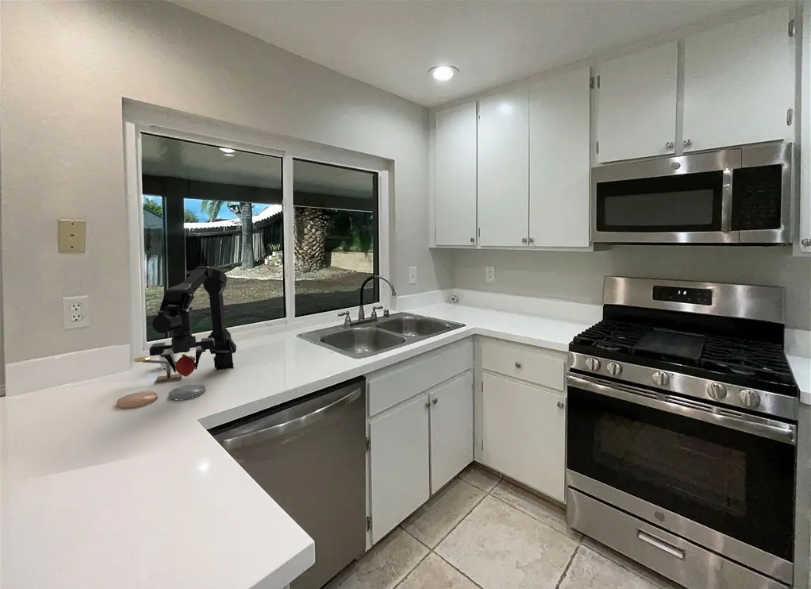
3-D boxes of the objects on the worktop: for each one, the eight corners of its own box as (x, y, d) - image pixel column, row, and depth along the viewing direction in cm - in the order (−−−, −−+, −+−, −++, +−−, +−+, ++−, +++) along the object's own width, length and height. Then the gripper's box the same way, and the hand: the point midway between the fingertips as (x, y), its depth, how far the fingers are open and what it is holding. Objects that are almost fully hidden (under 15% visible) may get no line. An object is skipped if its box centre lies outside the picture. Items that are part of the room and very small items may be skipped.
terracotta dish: (159, 392, 136) (159, 389, 135) (154, 404, 126) (154, 401, 125) (121, 398, 131) (121, 394, 131) (112, 411, 121) (112, 407, 121)
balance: (200, 373, 154) (198, 350, 153) (199, 377, 150) (197, 353, 148) (138, 381, 146) (135, 357, 145) (135, 386, 141) (132, 361, 140)
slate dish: (206, 385, 142) (206, 382, 141) (205, 396, 132) (204, 393, 131) (171, 390, 137) (171, 387, 137) (167, 402, 127) (166, 399, 127)
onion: (190, 372, 138) (188, 350, 136) (199, 375, 134) (197, 352, 133) (173, 377, 133) (171, 354, 132) (182, 380, 130) (179, 357, 128)
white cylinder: (170, 370, 159) (168, 353, 158) (155, 369, 160) (153, 352, 159) (182, 364, 166) (181, 348, 164) (168, 363, 167) (167, 347, 166)
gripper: (143, 334, 120) (149, 383, 122) (211, 328, 127) (215, 373, 130) (150, 327, 130) (155, 372, 132) (212, 321, 137) (216, 364, 140)
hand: (185, 370), depth 133 cm, fingers closed on onion, 6 cm apart
